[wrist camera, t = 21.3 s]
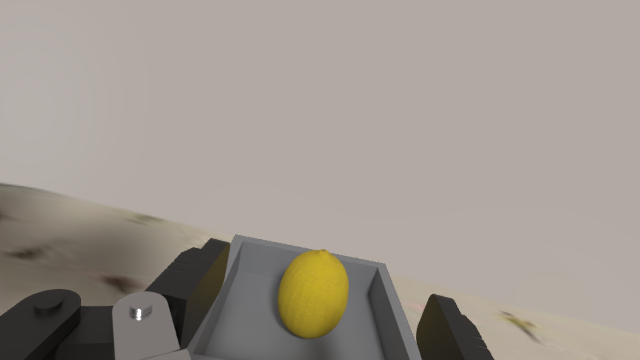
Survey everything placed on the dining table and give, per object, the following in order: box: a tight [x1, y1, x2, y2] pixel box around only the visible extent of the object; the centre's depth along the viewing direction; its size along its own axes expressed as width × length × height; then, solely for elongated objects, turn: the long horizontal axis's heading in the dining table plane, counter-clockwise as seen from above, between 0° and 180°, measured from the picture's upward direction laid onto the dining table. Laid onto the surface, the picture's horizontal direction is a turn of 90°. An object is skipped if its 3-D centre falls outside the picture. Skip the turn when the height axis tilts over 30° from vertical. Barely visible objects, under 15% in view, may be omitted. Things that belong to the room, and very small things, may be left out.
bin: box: [187, 235, 422, 360], centre depth 27 cm, size 16×16×4 cm
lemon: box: [278, 249, 349, 339], centre depth 26 cm, size 6×6×8 cm
